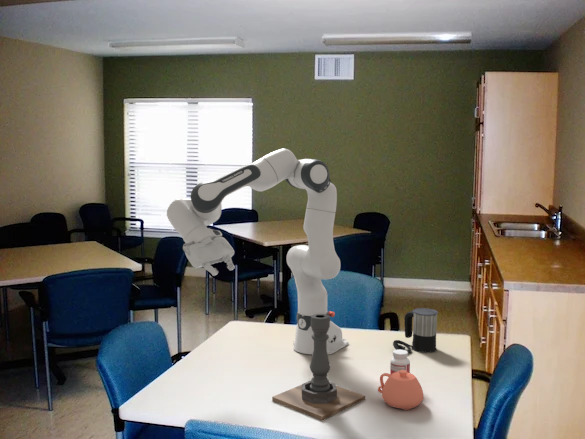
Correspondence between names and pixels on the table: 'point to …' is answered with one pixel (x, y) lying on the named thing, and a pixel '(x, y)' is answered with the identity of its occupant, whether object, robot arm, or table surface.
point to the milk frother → (420, 330)
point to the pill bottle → (399, 361)
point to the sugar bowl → (401, 390)
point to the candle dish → (318, 408)
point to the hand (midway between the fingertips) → (224, 271)
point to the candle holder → (320, 353)
